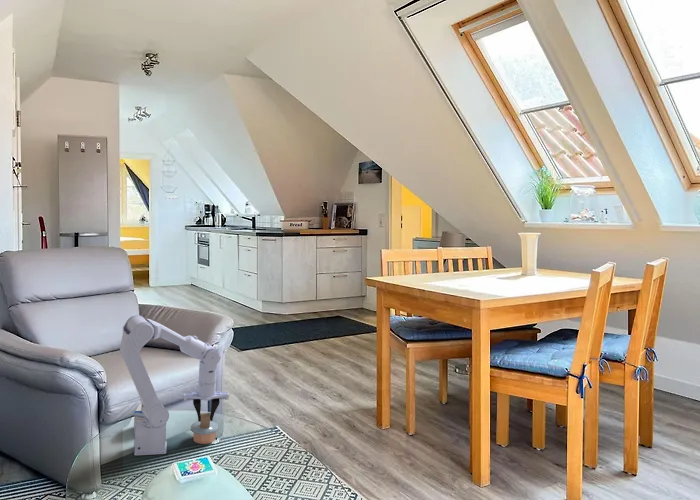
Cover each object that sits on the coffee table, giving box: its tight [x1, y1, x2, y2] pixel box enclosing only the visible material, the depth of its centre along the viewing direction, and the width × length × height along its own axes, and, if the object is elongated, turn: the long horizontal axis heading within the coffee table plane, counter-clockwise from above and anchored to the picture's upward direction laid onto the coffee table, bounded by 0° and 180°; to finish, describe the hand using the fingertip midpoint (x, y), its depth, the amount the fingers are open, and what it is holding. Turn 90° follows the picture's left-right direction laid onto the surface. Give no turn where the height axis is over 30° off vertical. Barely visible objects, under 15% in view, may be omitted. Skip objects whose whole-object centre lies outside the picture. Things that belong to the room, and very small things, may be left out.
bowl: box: [192, 431, 217, 445], centre depth 195 cm, size 7×7×4 cm
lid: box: [190, 412, 219, 435], centre depth 194 cm, size 9×9×5 cm
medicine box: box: [133, 402, 145, 436], centre depth 197 cm, size 8×4×9 cm, turn 5°
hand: (205, 420), depth 194 cm, fingers open, 3 cm apart
